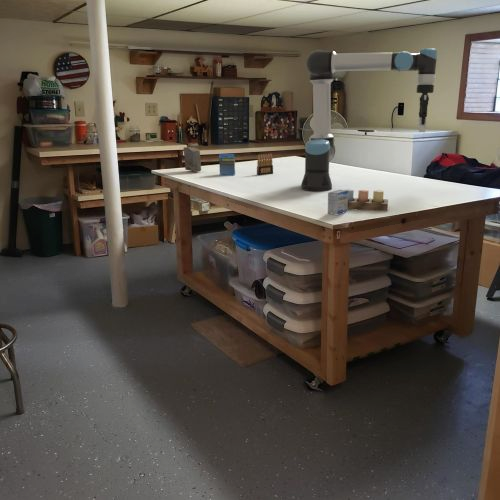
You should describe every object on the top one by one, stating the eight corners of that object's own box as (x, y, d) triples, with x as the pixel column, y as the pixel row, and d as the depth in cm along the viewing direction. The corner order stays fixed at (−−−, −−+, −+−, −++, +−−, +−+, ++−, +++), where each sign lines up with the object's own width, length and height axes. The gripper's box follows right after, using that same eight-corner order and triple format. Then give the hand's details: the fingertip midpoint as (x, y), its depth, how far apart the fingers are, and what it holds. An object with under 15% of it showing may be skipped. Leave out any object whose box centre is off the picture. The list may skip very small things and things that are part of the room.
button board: (337, 208, 212) (337, 201, 211) (339, 204, 220) (339, 197, 219) (387, 211, 207) (387, 203, 206) (387, 206, 215) (388, 199, 214)
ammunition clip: (271, 173, 305) (271, 152, 301) (273, 173, 303) (273, 153, 300) (256, 175, 299) (256, 154, 295) (258, 175, 297) (258, 154, 294)
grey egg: (342, 203, 213) (343, 191, 212) (343, 201, 217) (344, 189, 215) (352, 204, 212) (353, 191, 211) (353, 202, 216) (354, 189, 214)
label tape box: (235, 174, 303) (235, 153, 299) (234, 175, 299) (234, 154, 295) (220, 174, 303) (220, 153, 300) (219, 175, 300) (218, 154, 296)
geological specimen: (201, 172, 310) (200, 147, 306) (192, 173, 307) (191, 148, 302) (193, 170, 319) (192, 146, 314) (184, 171, 315) (183, 146, 311)
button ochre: (372, 205, 210) (373, 192, 209) (373, 203, 214) (373, 190, 212) (382, 205, 209) (383, 192, 208) (382, 203, 213) (383, 190, 211)
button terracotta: (357, 204, 212) (358, 191, 210) (358, 202, 215) (358, 189, 214) (367, 204, 211) (368, 192, 209) (368, 202, 214) (368, 190, 213)
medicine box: (336, 215, 201) (337, 193, 199) (327, 213, 204) (327, 192, 201) (347, 211, 207) (348, 190, 204) (338, 210, 210) (338, 189, 207)
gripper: (436, 83, 227) (431, 133, 234) (432, 84, 250) (427, 129, 257) (418, 83, 229) (414, 132, 235) (416, 84, 252) (412, 128, 258)
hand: (421, 130), depth 246 cm, fingers open, 13 cm apart
